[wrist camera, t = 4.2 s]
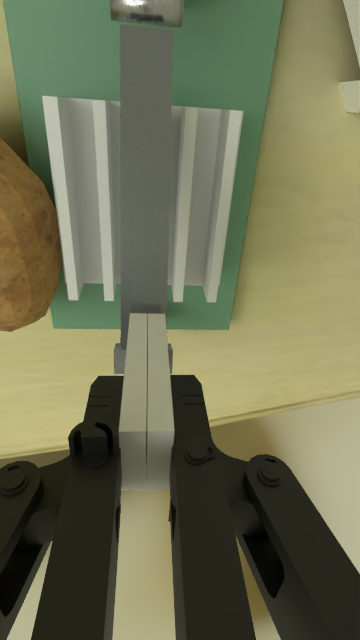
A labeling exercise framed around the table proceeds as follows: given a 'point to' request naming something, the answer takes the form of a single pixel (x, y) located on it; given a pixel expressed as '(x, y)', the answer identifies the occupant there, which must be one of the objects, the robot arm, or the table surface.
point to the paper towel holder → (356, 93)
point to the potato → (25, 244)
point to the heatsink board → (197, 78)
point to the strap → (144, 157)
